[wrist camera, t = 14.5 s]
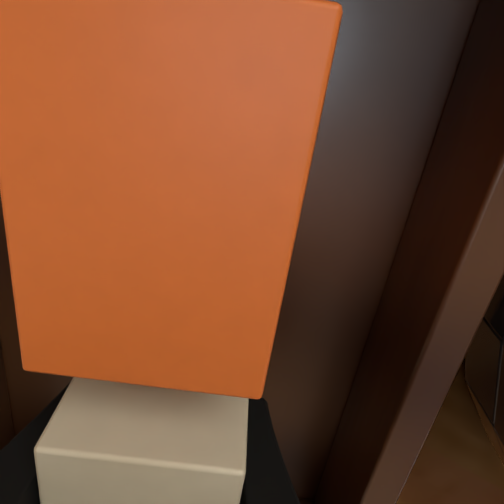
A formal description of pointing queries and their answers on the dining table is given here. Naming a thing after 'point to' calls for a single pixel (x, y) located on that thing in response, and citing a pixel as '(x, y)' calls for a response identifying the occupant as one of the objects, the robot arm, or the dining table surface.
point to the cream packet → (142, 446)
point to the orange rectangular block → (157, 181)
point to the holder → (370, 251)
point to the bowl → (489, 370)
